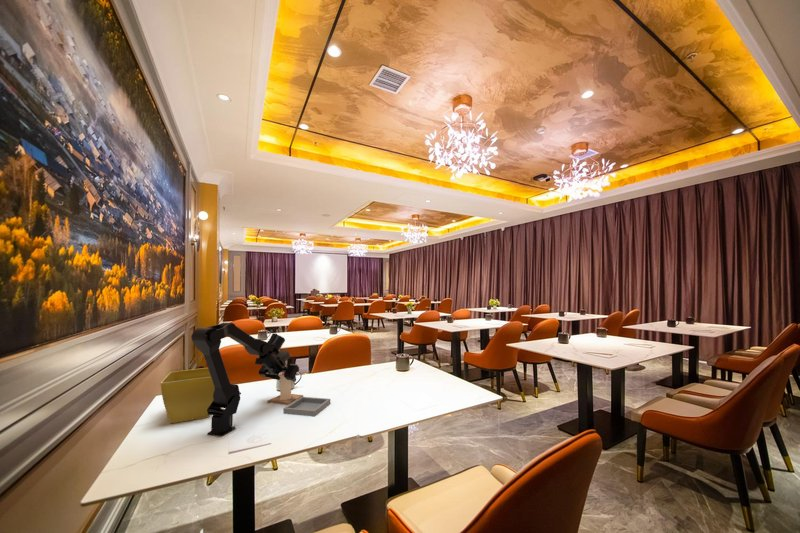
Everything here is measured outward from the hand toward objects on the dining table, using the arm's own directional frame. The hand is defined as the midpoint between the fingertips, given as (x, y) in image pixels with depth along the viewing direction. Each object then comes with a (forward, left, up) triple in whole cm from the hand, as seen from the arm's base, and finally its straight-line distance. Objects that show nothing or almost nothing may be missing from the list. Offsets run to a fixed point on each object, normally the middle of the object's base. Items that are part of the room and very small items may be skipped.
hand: (287, 380), depth 144 cm
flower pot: (-24, +28, -9) cm, 38 cm away
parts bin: (-9, -16, -9) cm, 20 cm away
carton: (-1, 0, -8) cm, 8 cm away
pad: (-1, 0, -9) cm, 9 cm away
